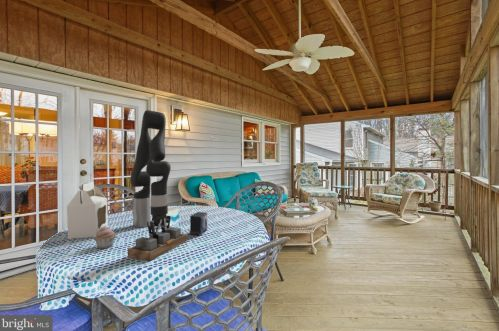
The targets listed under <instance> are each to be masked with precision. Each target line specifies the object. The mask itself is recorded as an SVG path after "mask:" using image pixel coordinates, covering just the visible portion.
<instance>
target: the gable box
mask: <svg viewBox="0 0 499 331" xmlns="http://www.w3.org/2000/svg"><path fill="white" fill-rule="evenodd" d="M78 188H79V189H80V190H78V191H77V192H76V193H75V195H74V196H73V198H72V199H71V200H70V201H69V202H68V204H67V206H66V217H67V218H66V219H67V220H66V221H67V239H68V240H73V238H77V239H87V238H86V237H92V238H94V237H96V234H97V232H98V231H100V229H101V228H102V227H104V226H106V227H108V226H109V225H108V224H109V221H108V220H109V218H108V216H109V215H108V197H107V196H106V195H105V194H104V193H103V192H102V190H101V189H100V188H99V187H98V186H96V185H95V183H94V181H89V182H86V183H83V184H82V185H81V186H80V185H79V186H78Z"/></svg>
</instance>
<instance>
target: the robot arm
mask: <svg viewBox="0 0 499 331" xmlns="http://www.w3.org/2000/svg"><path fill="white" fill-rule="evenodd" d="M166 118H167V117H166V114H165V113H163V112H161V111H155V110H149V109H146V110H145V111H144V113H143V115H142V121H141V127H140V128H141V129H140V136H139V140H138V143H137V147H136V153H135V154H136V155H135V159H134V164H133V168H132V171H131V175H130V185H131V186H132V187H134V188H139V187H142V188H141V189H140V190H139V191H136V192H135V193H133V210H132V226H133V227H135V228H146V227H147V231H148V235H149V234H152V235H153V239H157V242H158V232H159V231H160V230H161V231H160V232H164V233H166V231H167V229H168V228H169V227H171V225H170V224H171V218H172V216H171V215H168V214H169V213H168V212H169V210H168V209H169V206H168V205H169V203H168V202H169V201H168V180H169V176H170V173H171V169H172V168H171V164H170V162H168V161H166V160H165V158H166V147H165V141H166V140H165V138H166V128H167V127H166V126H167V124H166V123H167V121H166ZM149 129H151V130H158V132H157V134H155V136H154V137H153V138H152V137H151V136H150V133H149ZM145 167H146V168H145ZM144 168H145V170H144V171H142V170H143V169H144ZM152 177H153V178H156V177H162V178H161V179H160V180H156V181H153V182H151V180H152ZM151 216H152V218H151Z"/></svg>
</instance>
